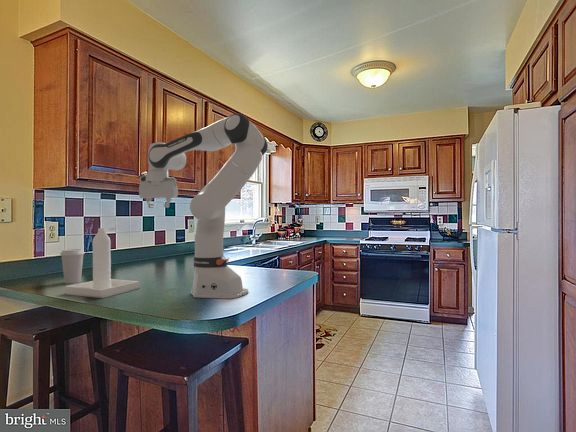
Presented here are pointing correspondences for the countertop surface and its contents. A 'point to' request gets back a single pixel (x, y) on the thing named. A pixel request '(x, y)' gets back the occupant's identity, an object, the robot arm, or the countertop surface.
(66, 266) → the coffee cup
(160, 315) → the countertop surface
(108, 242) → the water bottle
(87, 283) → the tray
